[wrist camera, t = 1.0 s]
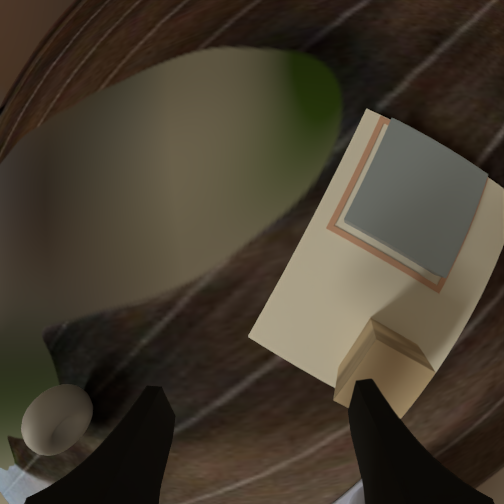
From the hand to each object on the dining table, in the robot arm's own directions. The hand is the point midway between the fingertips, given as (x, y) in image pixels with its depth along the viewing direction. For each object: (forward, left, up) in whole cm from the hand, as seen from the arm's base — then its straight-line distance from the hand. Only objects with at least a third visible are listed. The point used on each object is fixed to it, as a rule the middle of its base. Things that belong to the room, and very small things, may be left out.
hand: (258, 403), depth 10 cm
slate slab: (-2, -11, -10) cm, 15 cm away
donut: (+15, +22, -11) cm, 28 cm away
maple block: (-5, -1, -10) cm, 11 cm away
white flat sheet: (-3, -7, -11) cm, 13 cm away
